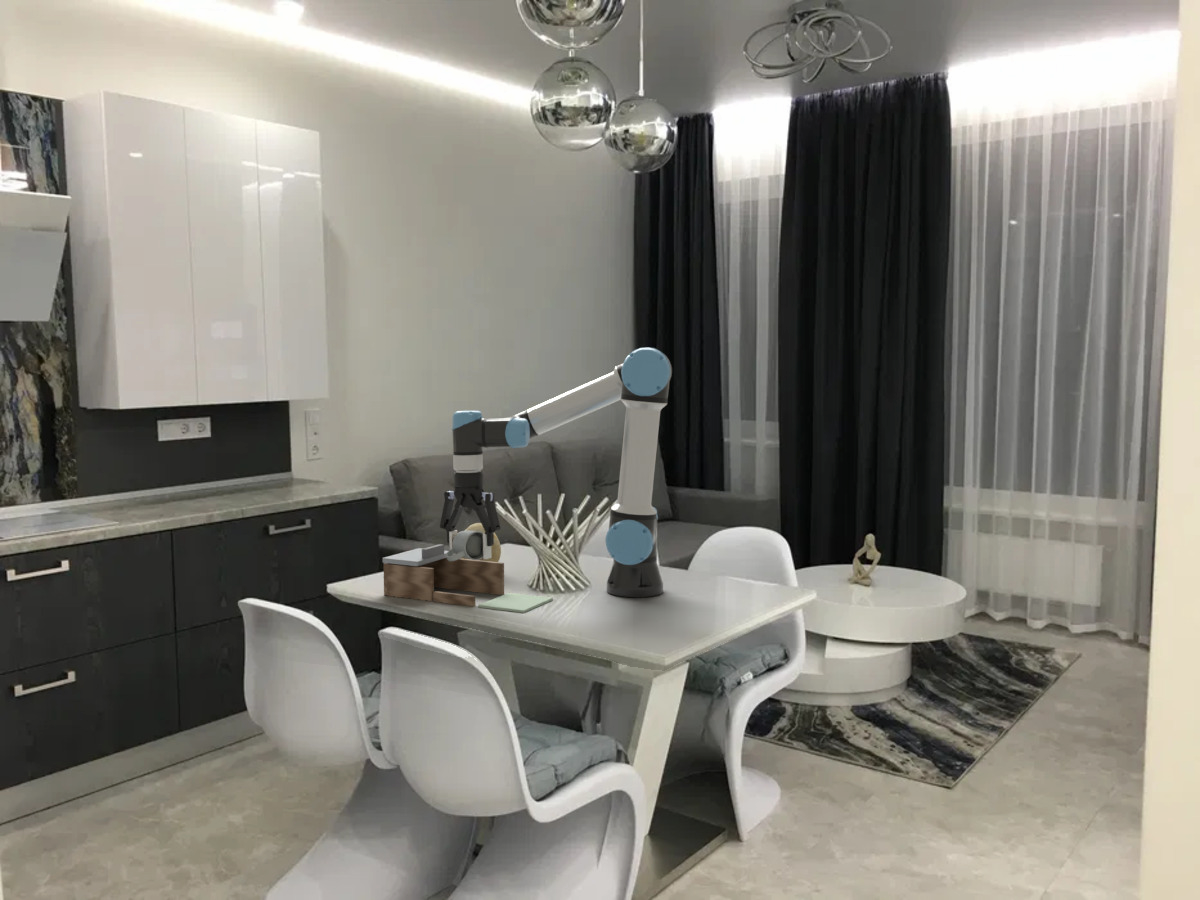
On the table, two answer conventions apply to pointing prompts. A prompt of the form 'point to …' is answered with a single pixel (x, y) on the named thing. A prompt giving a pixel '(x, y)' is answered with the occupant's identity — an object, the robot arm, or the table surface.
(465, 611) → the table surface
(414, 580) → the walnut well board
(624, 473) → the robot arm
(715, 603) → the table surface
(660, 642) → the table surface
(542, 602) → the sage mat
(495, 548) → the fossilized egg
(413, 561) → the sliding cover
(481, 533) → the ceramic mug
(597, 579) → the table surface
